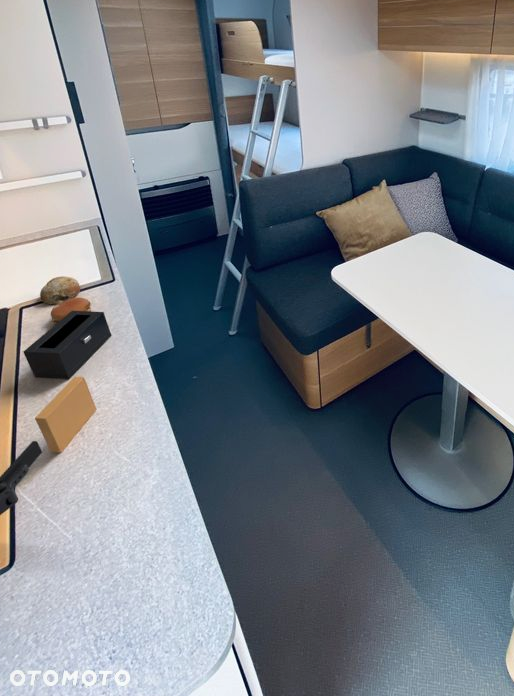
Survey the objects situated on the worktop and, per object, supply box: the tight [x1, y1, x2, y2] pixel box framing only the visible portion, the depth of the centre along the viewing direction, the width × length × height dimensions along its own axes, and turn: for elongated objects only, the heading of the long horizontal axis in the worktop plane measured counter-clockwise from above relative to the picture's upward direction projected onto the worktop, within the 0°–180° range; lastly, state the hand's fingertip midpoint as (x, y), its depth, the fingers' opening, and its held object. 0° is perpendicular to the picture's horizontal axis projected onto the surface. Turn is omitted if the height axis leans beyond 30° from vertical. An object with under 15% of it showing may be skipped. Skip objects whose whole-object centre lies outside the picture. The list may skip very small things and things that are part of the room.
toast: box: [34, 376, 97, 454], centre depth 84 cm, size 2×10×10 cm, turn 175°
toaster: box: [22, 310, 112, 380], centre depth 103 cm, size 10×15×8 cm, turn 175°
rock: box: [39, 276, 81, 305], centre depth 128 cm, size 10×10×8 cm
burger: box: [50, 296, 92, 326], centre depth 118 cm, size 10×9×5 cm
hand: (1, 443), depth 70 cm, fingers open, 13 cm apart
